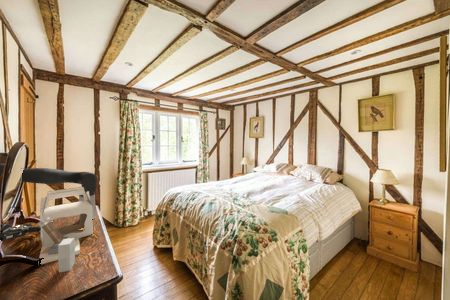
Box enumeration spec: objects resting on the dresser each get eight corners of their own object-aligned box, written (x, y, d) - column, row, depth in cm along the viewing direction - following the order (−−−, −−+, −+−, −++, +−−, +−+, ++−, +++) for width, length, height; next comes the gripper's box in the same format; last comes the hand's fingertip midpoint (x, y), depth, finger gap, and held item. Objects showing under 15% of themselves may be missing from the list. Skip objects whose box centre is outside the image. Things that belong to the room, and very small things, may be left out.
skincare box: (63, 264, 89) (63, 238, 89) (75, 262, 91) (74, 237, 90) (58, 273, 84) (57, 245, 83) (70, 270, 85) (69, 243, 85)
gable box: (42, 248, 102) (41, 195, 100) (40, 239, 110) (38, 190, 109) (93, 234, 118) (92, 187, 116) (87, 227, 127) (86, 184, 125)
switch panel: (41, 250, 100) (41, 239, 99) (78, 241, 109) (78, 231, 109) (38, 265, 89) (38, 252, 88) (80, 253, 98) (79, 241, 98)
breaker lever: (61, 241, 101) (43, 218, 98) (66, 238, 101) (48, 216, 99) (56, 246, 96) (37, 223, 93) (61, 243, 96) (42, 220, 93)
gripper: (-20, 232, 84) (31, 227, 89) (3, 219, 96) (47, 216, 102) (-20, 249, 84) (32, 243, 90) (4, 234, 97) (47, 230, 102)
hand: (40, 228), depth 96 cm, fingers closed
